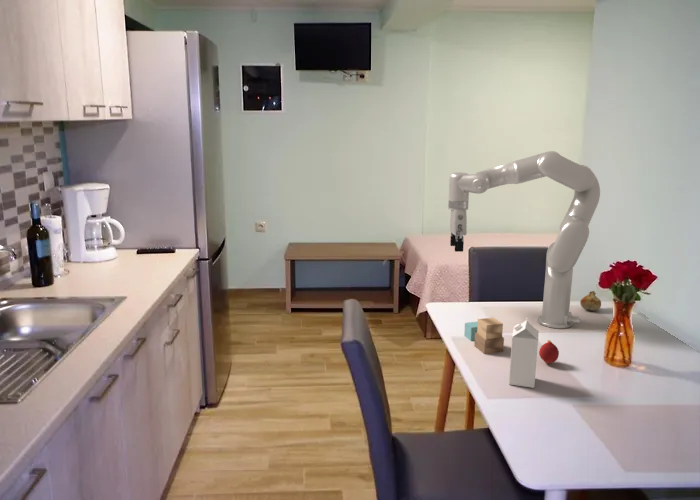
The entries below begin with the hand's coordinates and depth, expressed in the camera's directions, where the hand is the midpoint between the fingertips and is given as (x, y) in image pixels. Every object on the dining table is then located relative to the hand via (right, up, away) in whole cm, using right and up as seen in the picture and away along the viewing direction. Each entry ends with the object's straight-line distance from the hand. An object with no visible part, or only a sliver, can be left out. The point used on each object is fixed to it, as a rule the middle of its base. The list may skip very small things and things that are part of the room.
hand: (456, 248), depth 220 cm
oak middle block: (+5, -29, -31) cm, 43 cm away
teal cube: (+2, -32, -20) cm, 37 cm away
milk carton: (+9, -40, -53) cm, 67 cm away
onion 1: (+21, -37, -41) cm, 59 cm away
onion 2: (+56, -25, +9) cm, 62 cm away
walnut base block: (+5, -34, -30) cm, 46 cm away
